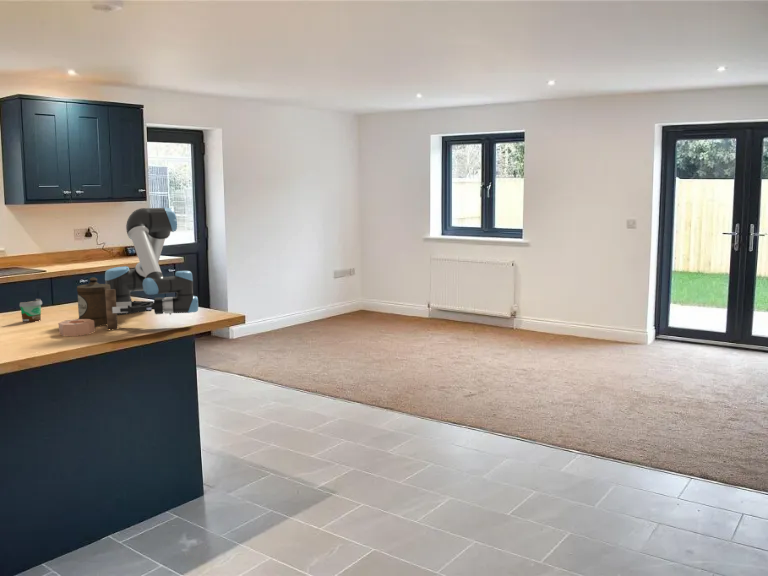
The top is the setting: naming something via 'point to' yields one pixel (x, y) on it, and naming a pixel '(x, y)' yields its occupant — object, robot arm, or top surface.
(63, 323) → the terracotta bead
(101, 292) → the wooden container
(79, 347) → the top surface
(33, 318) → the food container
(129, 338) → the top surface
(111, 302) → the walnut dowel
